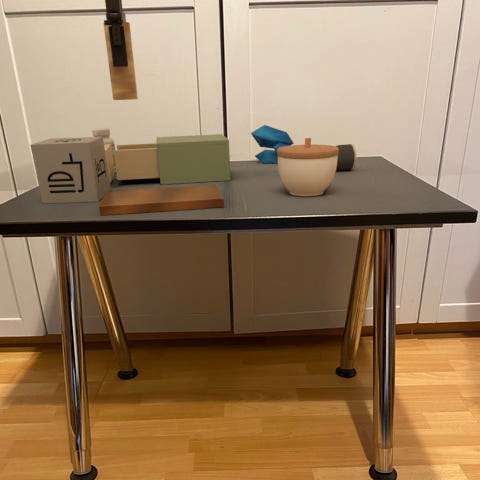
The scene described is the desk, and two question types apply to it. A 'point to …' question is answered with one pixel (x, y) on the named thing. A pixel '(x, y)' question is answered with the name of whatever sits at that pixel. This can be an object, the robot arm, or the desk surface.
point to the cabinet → (193, 159)
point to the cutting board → (161, 200)
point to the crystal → (270, 143)
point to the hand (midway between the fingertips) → (121, 66)
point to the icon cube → (71, 169)
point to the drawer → (133, 161)
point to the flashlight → (346, 157)
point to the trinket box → (307, 167)
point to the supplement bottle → (105, 139)
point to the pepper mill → (122, 76)
